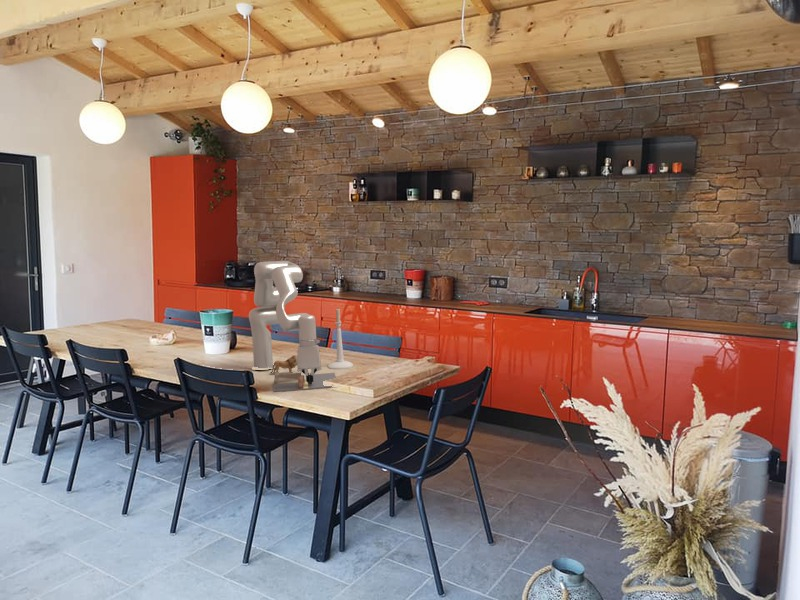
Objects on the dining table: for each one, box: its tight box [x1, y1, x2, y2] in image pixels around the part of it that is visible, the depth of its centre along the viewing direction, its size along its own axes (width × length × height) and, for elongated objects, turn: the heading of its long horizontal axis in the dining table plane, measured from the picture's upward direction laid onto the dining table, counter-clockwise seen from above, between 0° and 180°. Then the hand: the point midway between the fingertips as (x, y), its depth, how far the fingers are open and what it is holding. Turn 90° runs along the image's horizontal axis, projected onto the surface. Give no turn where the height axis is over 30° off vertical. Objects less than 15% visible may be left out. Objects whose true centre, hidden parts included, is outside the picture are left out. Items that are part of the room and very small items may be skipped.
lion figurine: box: [269, 354, 297, 374], centre depth 285 cm, size 15×5×9 cm, turn 96°
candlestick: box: [327, 308, 354, 370], centre depth 296 cm, size 13×13×30 cm
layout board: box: [272, 372, 337, 393], centre depth 266 cm, size 26×28×1 cm
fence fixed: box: [273, 371, 307, 383], centre depth 265 cm, size 2×15×5 cm, turn 100°
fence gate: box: [298, 372, 306, 388], centre depth 259 cm, size 12×2×5 cm, turn 0°
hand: (310, 383), depth 258 cm, fingers closed
